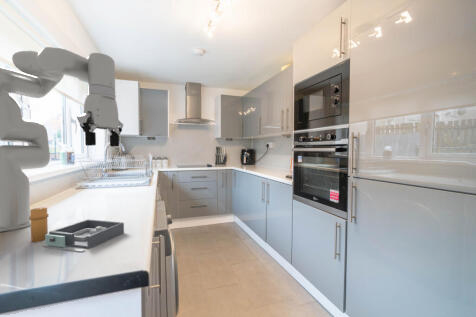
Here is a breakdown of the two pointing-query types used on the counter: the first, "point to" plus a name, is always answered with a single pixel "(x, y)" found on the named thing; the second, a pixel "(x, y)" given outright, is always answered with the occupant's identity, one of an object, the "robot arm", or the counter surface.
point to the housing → (87, 234)
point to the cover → (55, 240)
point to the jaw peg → (38, 224)
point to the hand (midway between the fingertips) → (103, 145)
